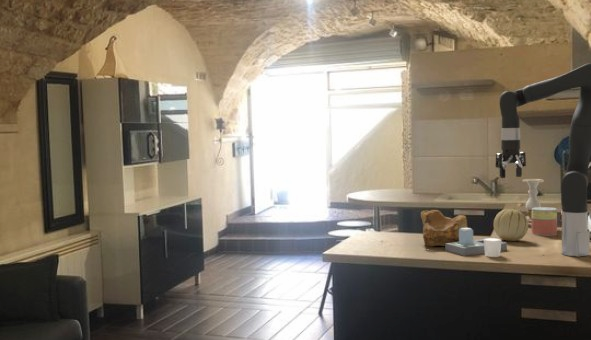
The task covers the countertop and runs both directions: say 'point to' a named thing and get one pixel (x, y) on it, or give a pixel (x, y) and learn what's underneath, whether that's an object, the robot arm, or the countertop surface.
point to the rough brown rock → (441, 228)
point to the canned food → (544, 221)
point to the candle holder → (532, 198)
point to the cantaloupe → (510, 224)
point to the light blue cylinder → (466, 236)
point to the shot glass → (492, 247)
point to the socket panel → (470, 247)
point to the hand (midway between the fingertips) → (510, 177)
